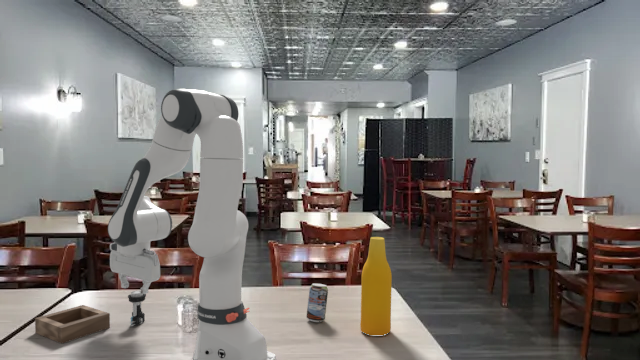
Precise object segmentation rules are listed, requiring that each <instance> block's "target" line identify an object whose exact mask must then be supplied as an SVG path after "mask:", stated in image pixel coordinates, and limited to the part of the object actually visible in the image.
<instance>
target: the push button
mask: <svg viewBox="0 0 640 360" xmlns="http://www.w3.org/2000/svg"><path fill="white" fill-rule="evenodd" d="M140 291H141V290H133V291H131V292H130V294H128V295H127V298H128V302H130V303H132V312H131V316H130V322H129V324H130V325H129V326H130V327H137V326H138V325H140V324H143V322H146V321H145V313H144V312H143V311H142V303H143V302H144V301H145V300H146V297H147V294H142V293H141V292H140Z"/></svg>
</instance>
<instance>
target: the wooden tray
mask: <svg viewBox="0 0 640 360" xmlns="http://www.w3.org/2000/svg"><path fill="white" fill-rule="evenodd" d="M110 316H111V314H110V312H107V311H104V310H101V309H97V308H94V307H90V306H88V305H84V304H80V305H78V306H74V307H70V308H67V309H63V310H60V311H57V312H53V313H49V314H45V315H41V316H39V317H35V318H34V325H35V326H34V327H35V328H34V329H35V330H34V331H35V334H37V335H39V336H42V337H45V338H46V339H49V340H51V341H53V342H54V341H55V342H58V344H59V343H60V344H65V343H67V342H71V341H74V340H77V339H80V338H83V337H86V336H89V335H92V334H95V333H98V332H101V331H104V330H108V329H110V328H111V324H110V323H111V322H110V321H111V318H110Z"/></svg>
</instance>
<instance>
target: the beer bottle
mask: <svg viewBox="0 0 640 360" xmlns="http://www.w3.org/2000/svg"><path fill="white" fill-rule="evenodd" d="M369 238H370V240H369V246H368V255H367V259H366V260H365V263H364V265H363V267H362V272H361V287H360V288H361V290H360V291H361V292H360V322H359V323H360V325H359V326H360V327H359V328H360V331H362V332H364V333H366V334H369V335H384V334H387V333H389V332H391V329H392V328H391V327H392V326H391V325H392V323H391V322H392V321H391V320H392V319H391V317H392V284H393V283H392V279H393V277H392V276H393V275H392V271H391V270H392V269H391V267H390V264H389V262H388V260H387V255H386V241H385V237H381V236H371V237H369ZM362 332H361V333H362ZM389 334H390V333H389Z"/></svg>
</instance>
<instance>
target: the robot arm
mask: <svg viewBox="0 0 640 360" xmlns="http://www.w3.org/2000/svg"><path fill="white" fill-rule="evenodd" d="M160 111H161V112H160V113H161V114H160V116H159V119H158V122H157V123H156V127H155V129H154V133H153V137H152V141H151V144H150V146H149V148H148V150H147V151H146V152H145V154H144V156H143V157H142V158H141V159H139V160H137V162H136V163H135V165H133V168H132V170H131V173H130V174H129V178H128V180H127V181H126V182H127V183H126V185H125V187H124V190H123V192H122V195H121V197H120V200H119V203H118V204H117V207H116V209H115V210H114V212H113V214H112V215H111V217H110V219H109V221H108V223H107V224H108V225H107V233H108V236H109V238H110V239H111V241H113V242H111V243H110V244H109V250H110V254H109V268H110V270H111V272H113V273H116V274H118V278H119V281H120V287H121V288H122V289H128V288H129V287H130V282H129V281H128V278H127V277H130V278H135V279H138V280H141V281H142V284H143V285H142V287H139V288H140V289H139V291H140V292H141V293H142V294H146V295H147V294H148V293H149V287H150V286H151V284H152V283H153V282H156V281H159V279H160V278H161V265H160V259H159V256H158V254H157V252H156V251H155V250H151V242H152V241H160V240H163V239H166V238H168V237H169V236H170V234H171V232H172V230H173V219H172V216H171V214H170V213H169V212H168V211H167V210H166V209H165V208H161V207H159V206H157V205H155V204H154V203H153V202H152V201H151V198H150V196H148V195H146V193H147V191H148V190H149V188H150V187H151V186H153V185H154V184H156V183H157V182H159V181H161V180H164V179H166V178H168V177H171V176H174V175H177V174H178V173H180V172H181V171H182V170H183V169H185V168H186V166H187V164H188V163H189V160H190V157H191V156H192V155H191V154H192V150H193V145H194V142H195V137H196V135H197V136H198V137H199V141H200V155H199V157H200V160H199V162H200V163H199V188H198V195H197V199H196V203H195V210H194V216H193V220H192V225H191V226H190V229H189V230H188V233H187V234H188V235H187V240H188V245H189V247H190V249H191V250H192V252H194V253H195V254H196V255H197V256H199V257H202V258H203V262H202V266H201V269H200V272H199V277H198V279H199V280H198V282H199V283H198V284H199V285H198V288H199V290H198V292H199V293H198V295H199V297H198V299H199V301H198V304H197V309H196V311H197V312H196V313H197V319H198V327H197V332H196V341H195V347H194V352H193V355H192V360H275V359H277V358H276V357H277V356H276V354H275V353H273V352H271V351H268V350H267V349H268V347H267V340H266V337H265V335H264V334H263V333H262V332H260V330H259V329H258V328H257V326H255V325H254V324H253V323H252V322H251V320H249V318H248V316H247V315H248V314H247V313H249V312H250V310H249V309H250V307H247V308H246V307H245V305H244V302H243V301H242V284H243V283H242V278H243V275H242V274H243V265H244V259H245V253H246V244H247V235H248V232H249V221H248V218H247V216H246V215H245V214H244V213H243V212H242V211H240V210H238V208H239V204H240V203H239V202H240V198H241V194H242V191H243V183H244V182H243V181H244V180H243V179H244V177H243V176H244V175H243V174H244V144H243V136H242V130H241V126H240V123H239V121H238V120H239V108H238V105H237V103H236V102H235V100H234V99H232V98H231V97H229V96H226V95H224V94H217V93H214V92H209V91H206V90H200V89H186V88H176V89H175V88H174V89H172V90H169V91H167V92H166V93H165V95H164V97H163V98H162V102H161V106H160Z"/></svg>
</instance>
